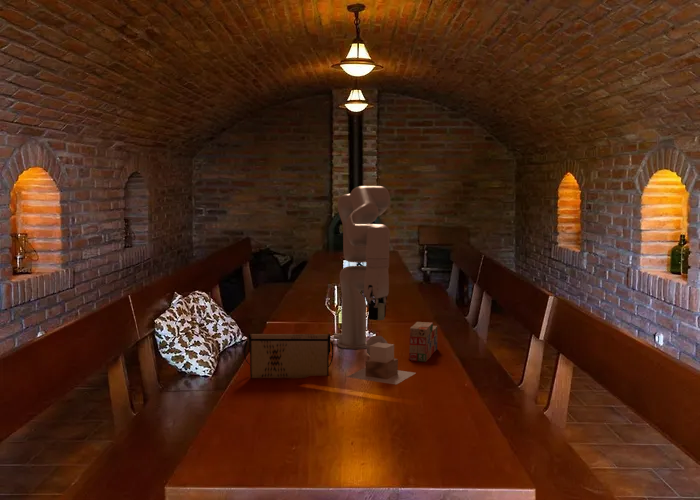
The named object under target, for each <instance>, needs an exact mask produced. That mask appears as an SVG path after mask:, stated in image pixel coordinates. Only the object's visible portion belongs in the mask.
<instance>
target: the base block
mask: <svg viewBox="0 0 700 500" xmlns="http://www.w3.org/2000/svg"><path fill="white" fill-rule="evenodd" d="M365 367H366V371H365V376H369V377H375V378H382V379H389V378H391V377H393V376H394V375H396V374H398V370H399V359H398V358H395V357H394V359H393V360H391V361H390V362H388V363H382V362H374V361H370V358H369V359H367V360H365Z"/></svg>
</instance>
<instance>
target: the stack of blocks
mask: <svg viewBox="0 0 700 500" xmlns="http://www.w3.org/2000/svg"><path fill="white" fill-rule="evenodd" d="M437 350H438V325H434V323H433V322H428V321H427V322H425V321H423V322H422V321H416V322H415V323H414V324H413V325H412V326H410V328H409V354H408V356H409V357H408V360H409V361H410V360H411V362H412V361H414V362H424V363H425V362H427V361H428V360H429V359H430V358H432V356H433V354H434V353H435V352H436V351H437Z"/></svg>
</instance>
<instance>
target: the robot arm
mask: <svg viewBox="0 0 700 500" xmlns="http://www.w3.org/2000/svg"><path fill="white" fill-rule="evenodd" d="M390 202H391V195H390V192H389V190H388V188H386V187H385V186H381V185H359V186H356V187H354V188H353V189H352V190H351V192H350V193H345V194H342V195H340V196H339V198H338V199H337V210H338V215H339V217H340V221H341V223H342V228H343V229H342V231H343V233H342V235H343V236H342V237H343V238H342V239H343V240H342V242H343V243H342V244H343V249H342V250H343V258H344V260H345V261H346V262H349V263H365V265H348V266H345V267H343V268H342V269H341V270H340V272H339V282H340V289H341V291H340V292H341V333H337V332H335V333H333V338H332V339H334V340H338V341H337V346H338V347H339V348H342V349H346V350H347V349H348V350H362V349H367V340H366V339H367V337H366V336H367V335H366V334H367V332H366V329H367V327H366V326H367V324H366V323H367V315H368V320H370V319H372V320H371V321H378V320H377V319H378V308H377V303H384V304H385V317H386V315H387V314H386V306H387V300H388V296H389V292H390V279H389V278H390V274H389V268H390V239H391V230H390V228H389V227H388V226H387V225H386V224H383V223H373V222H375V221H376V220H377V218H378V217H379V216H381V215H383V214H384V213H385V212H386V210H387V209H389V207H390ZM362 291H363V295H362V293H361V292H362ZM367 309H368V312H367ZM367 313H368V314H367Z"/></svg>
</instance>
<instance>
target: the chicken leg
mask: <svg viewBox="0 0 700 500" xmlns="http://www.w3.org/2000/svg"><path fill="white" fill-rule="evenodd" d="M366 341H367V348H366V354H367V355H368V356H370V346H371V345H373V344H375V343H378V342H379V343H387V344H388V341H387V340H386V339H385V338H384V337H383V336H382V335H372V336H371V337H370V338H369V339H367V340H366Z"/></svg>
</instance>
